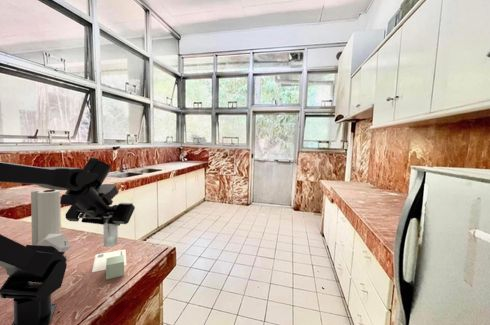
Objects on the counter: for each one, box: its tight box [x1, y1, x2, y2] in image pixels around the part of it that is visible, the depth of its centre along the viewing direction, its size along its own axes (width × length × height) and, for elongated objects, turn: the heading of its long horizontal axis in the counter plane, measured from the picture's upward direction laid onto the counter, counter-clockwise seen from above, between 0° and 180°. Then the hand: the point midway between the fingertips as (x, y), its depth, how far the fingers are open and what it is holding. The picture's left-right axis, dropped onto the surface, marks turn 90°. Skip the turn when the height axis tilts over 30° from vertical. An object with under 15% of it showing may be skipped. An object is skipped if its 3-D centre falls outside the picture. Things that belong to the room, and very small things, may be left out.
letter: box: [91, 249, 127, 274], centre depth 71 cm, size 12×9×1 cm
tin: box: [102, 205, 119, 248], centre depth 70 cm, size 4×4×12 cm
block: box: [105, 255, 125, 280], centre depth 63 cm, size 4×4×4 cm
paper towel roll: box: [30, 189, 62, 245], centre depth 76 cm, size 7×6×21 cm
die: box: [37, 233, 72, 253], centre depth 71 cm, size 8×9×10 cm
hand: (113, 224), depth 72 cm, fingers closed on tin, 4 cm apart
